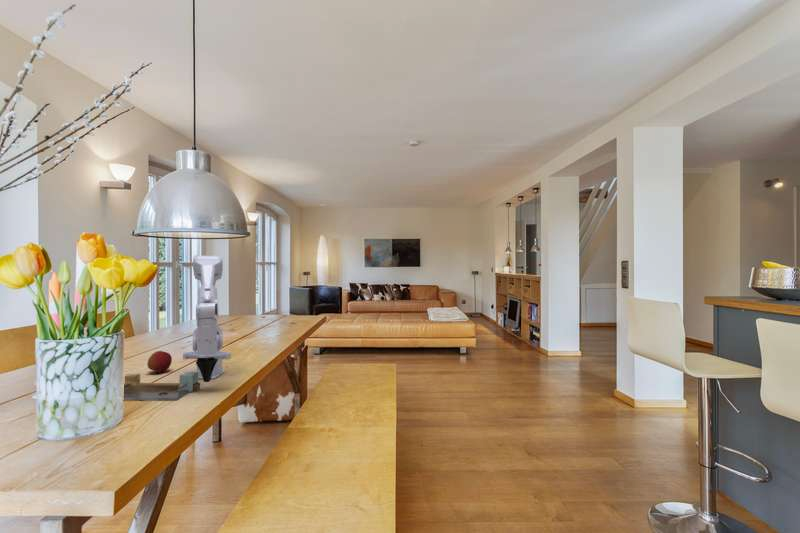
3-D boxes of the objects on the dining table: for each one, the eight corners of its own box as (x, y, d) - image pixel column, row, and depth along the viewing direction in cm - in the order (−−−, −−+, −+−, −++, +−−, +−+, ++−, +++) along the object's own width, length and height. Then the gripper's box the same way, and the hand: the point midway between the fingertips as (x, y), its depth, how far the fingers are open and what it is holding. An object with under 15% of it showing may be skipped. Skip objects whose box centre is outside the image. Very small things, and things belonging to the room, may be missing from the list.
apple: (175, 372, 152) (175, 350, 152) (151, 376, 146) (151, 354, 146) (167, 368, 157) (167, 347, 157) (144, 372, 151) (144, 351, 151)
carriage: (186, 387, 133) (186, 371, 133) (198, 387, 133) (198, 371, 133) (172, 396, 125) (172, 379, 125) (185, 396, 125) (185, 379, 125)
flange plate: (117, 392, 128) (117, 390, 128) (188, 392, 129) (188, 390, 129) (102, 400, 121) (102, 397, 121) (176, 400, 122) (176, 397, 122)
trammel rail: (126, 388, 132) (126, 373, 132) (200, 388, 133) (200, 373, 133) (109, 397, 124) (109, 380, 124) (188, 396, 125) (188, 380, 125)
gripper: (178, 341, 127) (178, 384, 127) (224, 341, 127) (224, 384, 127) (189, 337, 134) (189, 378, 134) (233, 337, 134) (233, 378, 134)
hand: (207, 381), depth 131 cm, fingers closed
